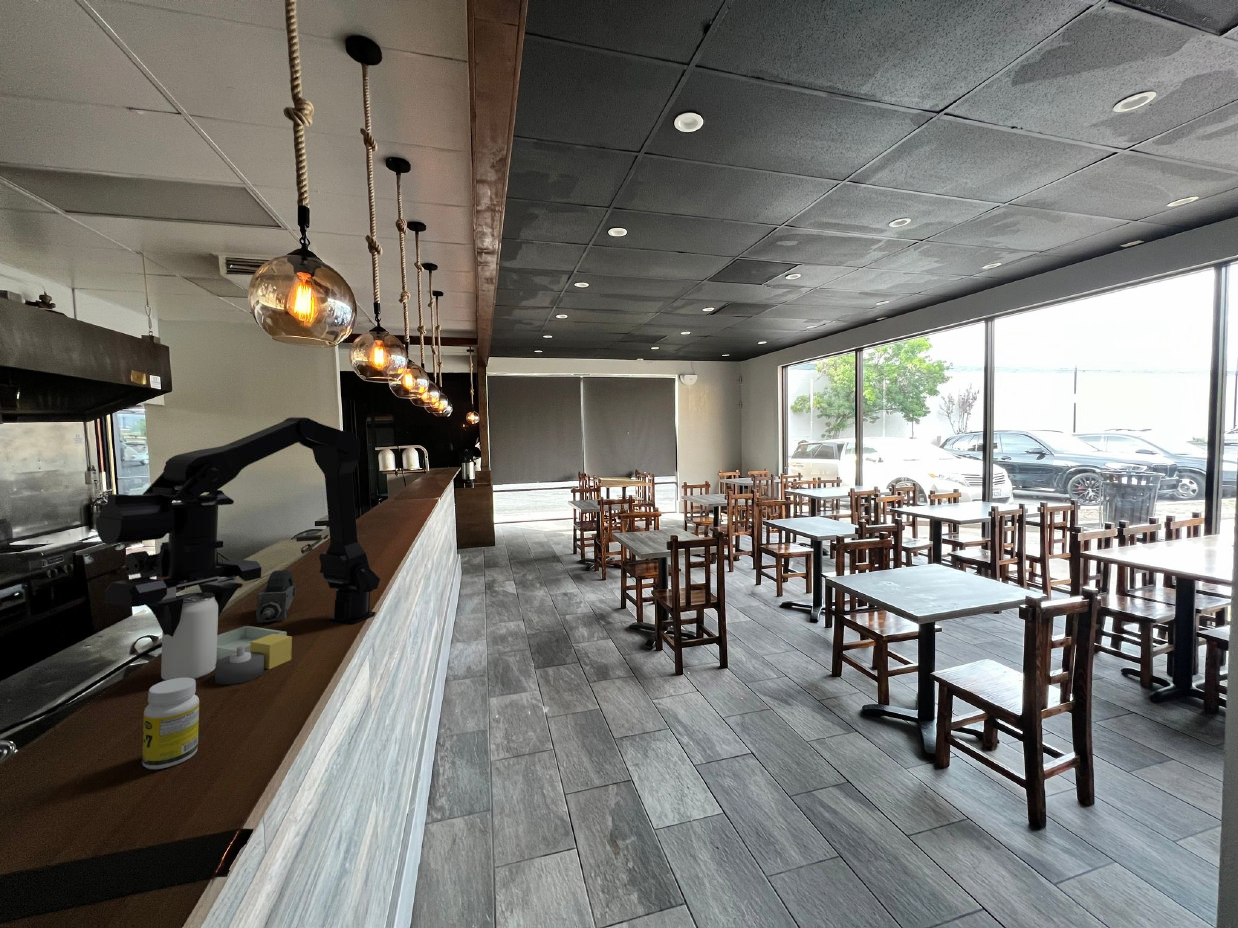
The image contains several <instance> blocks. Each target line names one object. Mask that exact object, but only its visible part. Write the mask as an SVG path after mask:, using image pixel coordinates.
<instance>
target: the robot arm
mask: <svg viewBox="0 0 1238 928" xmlns="http://www.w3.org/2000/svg"><path fill="white" fill-rule="evenodd" d="M297 443H298V444H299V445H301V446H303V447H305V448H308V449H310V450H312V452H313V458H314V461H315V463H316V465H317V466H318V468H319V469H320V470H321V472H322V474H323V476H324V483H325V484H324V485H325V495H326V504H327V506H326V507H327V519H328V530H329V540H330V543H329V546H328V547H327V550H326V551H325V552H323V553H322V552H321V553H319V562H320V569H319V574H320V573H321V574H322V576H323V578H324V580H326V582H327V584H328V587H329V589H333V590H336V591H335V599H334V607H333V608H334V609H333V610H334V613H333V615H331V616H329V617H328V620H329V619H332V620H331V621H334V620H336V621H335V622H341V621H342V622H341V623H350V624H356V623H358V622H361V621H364V620H365V619H368V618H370V617H372V616H375V615H376V613H377V612H376V611H373V610H372V611H371V610H370V608H371V592H373V591H374V590H377V589H378V588H379V584H380V581H381V578H380V577H379V576H378V575H377V574H376V573H375V572H374V571H373V570H372V569H371V568H370V564H369V559H368V555H367V552H366V551H365V550H364V548H363V546H362V545H361V544H360V542H359V539H358V531H357V530H358V529H357V517H356V515H357V514H356V504H355V501H356V500H355V490H354V478H353V474H354V471H355V470H356V467H357V465H358V463H359V461H360V454H361V453H360V452H361V442H360V439H359V436H357V435H356V434H355V433H354V432H352V431H351V430H341V429H338V428H335V427H332V426H329V425H325V424H323V423H320V422H318V421H315V420H313V419H310V417H304V416H303V417H302V416H301V417H300V416H299V417H296V416H291V417H287V418H286V419H284V420H283V421H281V422H278V423H277V424H274V425H271V426H269V427H266V428H263V429H261V430H259V431H257V432H254V433H252V434H249V435H246V436H244V437H242V438H239V439H237V440H235V441H232V442H230V443H227V444H224V445H222V446H221V445H220V446H216V447H209V448H204V449H203V448H201V449H197V450H192V451H188V452H183V453H180V454H177V455H176V454H175V455H173V456H172V457H170V458H168V460H166V461H165V464H164V467H163V470H162V471H163V472H162V473H161V474H160V475H159V476H158V477H157V478H156V479H155V480H154V482H153V483H152V484H150V485H149V486H148V487H147V489H146V490H145V491H144V492H143V493H142V494H121V493H120V494H119V493H115V494H114V493H113V494H108V495H107V497H106V503H105V504H104V505H102V507H101V509H100V511H99V513H98V516H97V517H96V518H95V519H96V520H95V527H96V528H95V529H96V532H97V535H98V538H99V539H100V541H101V542H102V543H104V544H105V545H107V546H109V545H117V544H128V543H136V542H145V541H154V540H161V539H163V538H164V537H166V536H167V534H168V541H164V542H161V545H160V547H159V552H158V553H153V554H149V553H148V551H146V550H141V551H135V552H134V551H133V552H130V553H127V554H126V555H125V559H124V570H125V573H126V574H127V575H128V576H135V575H139V576H140V577H139V576H138V577H134V578H129V579H124V580H118V581H112V582H111V583H110V584H109V586H107V588H106V589H105V590H104V604H110V605H115V606H123V607H129V608H133V607H142V606H143V607H144V606H146V607H147V608H148V609H149V610H150V611H151V612H152V614H153V615H154V617H155V619H156V621H157V623H158V625H159V626H160V629H161V630H162V632H163V633H164V635H166V634H167V635H170V636H171V637H173V635H174V633H175V630H176V628H177V626H178V624H179V623H180V618H181V612H182V607H183V601H184V598H178V597H176V596H177V590H180V589H185V588H190V587H195V586H198V587H199V590H200V592H209V593H214V594H215V596H214V597H215V599H216V601H217V603H218V618H219V617H220V616H221V613H222V612H223V611H224V609H225V607H226V606H227V604H228V603H229V601H230V600H231V599H232V597H233V596H234V595H235V593H236V591H237V590H239V589H240V588H241V589H242V587H243V583H240V582H237V577H238V578H239V579H240V580H242V581H243V582H249V581H253V580H257V579H261V578H262V567H261V565H260V563H259V562H258V561H257V560H248V559H240V558H236V559H231V560H226V561H221V562H217V552H218V551H217V550H218V549H220V548H224V540H219V539H218V523H219V522H218V521H219V520H218V519H219V517H218V516H219V506H228V505H229V506H230V505H233V504H234V502H235V501H234V500H233V499H232V498H231V497H229V496H228V495H226V494H225V492H224V491H223V490H220V489H221V488H222V487H224V486H225V485H227V484H229V483H230V482H231V481H233V480H235V479H236V478H237V476H238V475H239V474H241V471H242V470H244V469H246V467H248V466H250V465H252V464H254V463H256V462H258V461H260V460H263V459H265V458H268V457H269V456H271V455H274V454H277V453H278V452H280V451H283V450H285V449H287V448H288V447H291V446H293V445H295V444H297ZM205 493H206V494H205ZM173 501H174V502H173ZM175 501H176V502H175ZM155 577H157V578H164V577H165V578H164V579H156V578H155Z"/></svg>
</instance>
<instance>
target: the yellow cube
mask: <svg viewBox="0 0 1238 928" xmlns="http://www.w3.org/2000/svg"><path fill="white" fill-rule="evenodd" d="M292 645H293V636H289V635H287V636H285V635H279V634H271V635H268V636H265V637H262V638H260V639H257V640H254V641H251V642H250V652H258V653H262V654H263V655H264V669H266V670H271V669H273V668H275V667H278V666H280V665H282V664H284V663H286V662H289V661H291V660H292V649H293V648H292Z"/></svg>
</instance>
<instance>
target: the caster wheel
mask: <svg viewBox="0 0 1238 928" xmlns="http://www.w3.org/2000/svg"><path fill="white" fill-rule="evenodd" d="M296 595H297V587H296V586H295V585H294V576H293V573H292V571H290V570H287V569H284V570H282V569H281V570H274V571H272V572H271V574H270V575H269V578H268V579H267V584H266V587H265V588H264V589H262V591H260V592H259V593H258V594H257V596H256V599H257V601H256V611H255V615H256V616H255V617H256V622H257V623H260V624H261V623H262V624H263V622H266V623H271V622H270V621H281V622H283V621H285V620H286V619H287V613H288V609H290V607H291V604H292V602H293V600H294V598H295V596H296ZM284 619H285V620H284Z"/></svg>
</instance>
